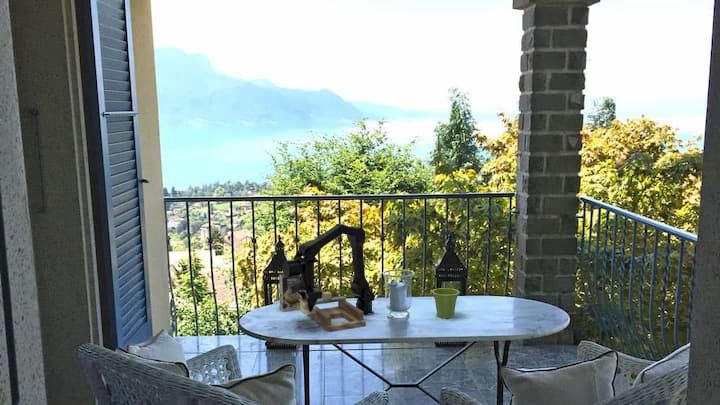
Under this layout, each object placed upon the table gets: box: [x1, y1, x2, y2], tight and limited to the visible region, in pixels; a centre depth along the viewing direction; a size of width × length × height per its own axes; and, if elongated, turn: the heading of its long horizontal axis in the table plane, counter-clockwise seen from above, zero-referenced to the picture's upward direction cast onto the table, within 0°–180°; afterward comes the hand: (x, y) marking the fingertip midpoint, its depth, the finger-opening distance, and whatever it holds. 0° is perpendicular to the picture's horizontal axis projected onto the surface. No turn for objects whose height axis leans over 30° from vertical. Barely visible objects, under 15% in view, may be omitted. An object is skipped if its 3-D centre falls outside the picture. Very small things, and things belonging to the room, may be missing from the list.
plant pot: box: [431, 287, 460, 319], centre depth 260 cm, size 12×12×11 cm
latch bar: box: [316, 291, 347, 306], centre depth 262 cm, size 17×3×4 cm, turn 116°
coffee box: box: [279, 273, 302, 312], centre depth 271 cm, size 9×6×16 cm
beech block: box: [299, 299, 317, 316], centre depth 248 cm, size 5×5×5 cm
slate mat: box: [296, 320, 321, 330], centre depth 249 cm, size 8×8×1 cm
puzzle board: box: [306, 300, 367, 333], centre depth 255 cm, size 17×24×6 cm
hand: (308, 309), depth 248 cm, fingers closed on beech block, 5 cm apart
